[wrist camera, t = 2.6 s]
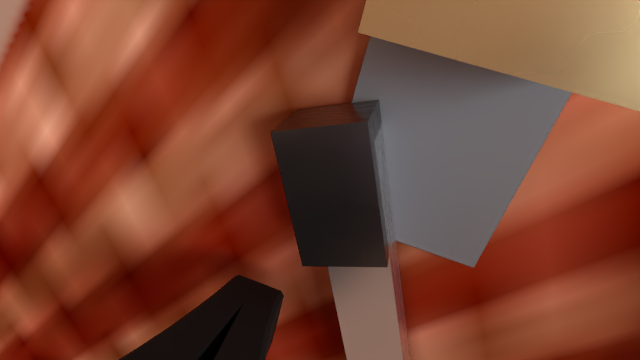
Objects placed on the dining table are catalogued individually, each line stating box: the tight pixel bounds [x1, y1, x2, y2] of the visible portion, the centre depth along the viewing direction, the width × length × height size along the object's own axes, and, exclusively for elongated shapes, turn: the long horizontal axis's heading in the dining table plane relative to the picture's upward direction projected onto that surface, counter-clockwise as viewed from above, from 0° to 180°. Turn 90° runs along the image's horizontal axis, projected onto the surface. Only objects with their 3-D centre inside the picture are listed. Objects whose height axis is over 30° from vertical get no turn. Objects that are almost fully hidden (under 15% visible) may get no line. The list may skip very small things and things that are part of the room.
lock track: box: [352, 36, 572, 268], centre depth 7 cm, size 4×8×1 cm, turn 166°
